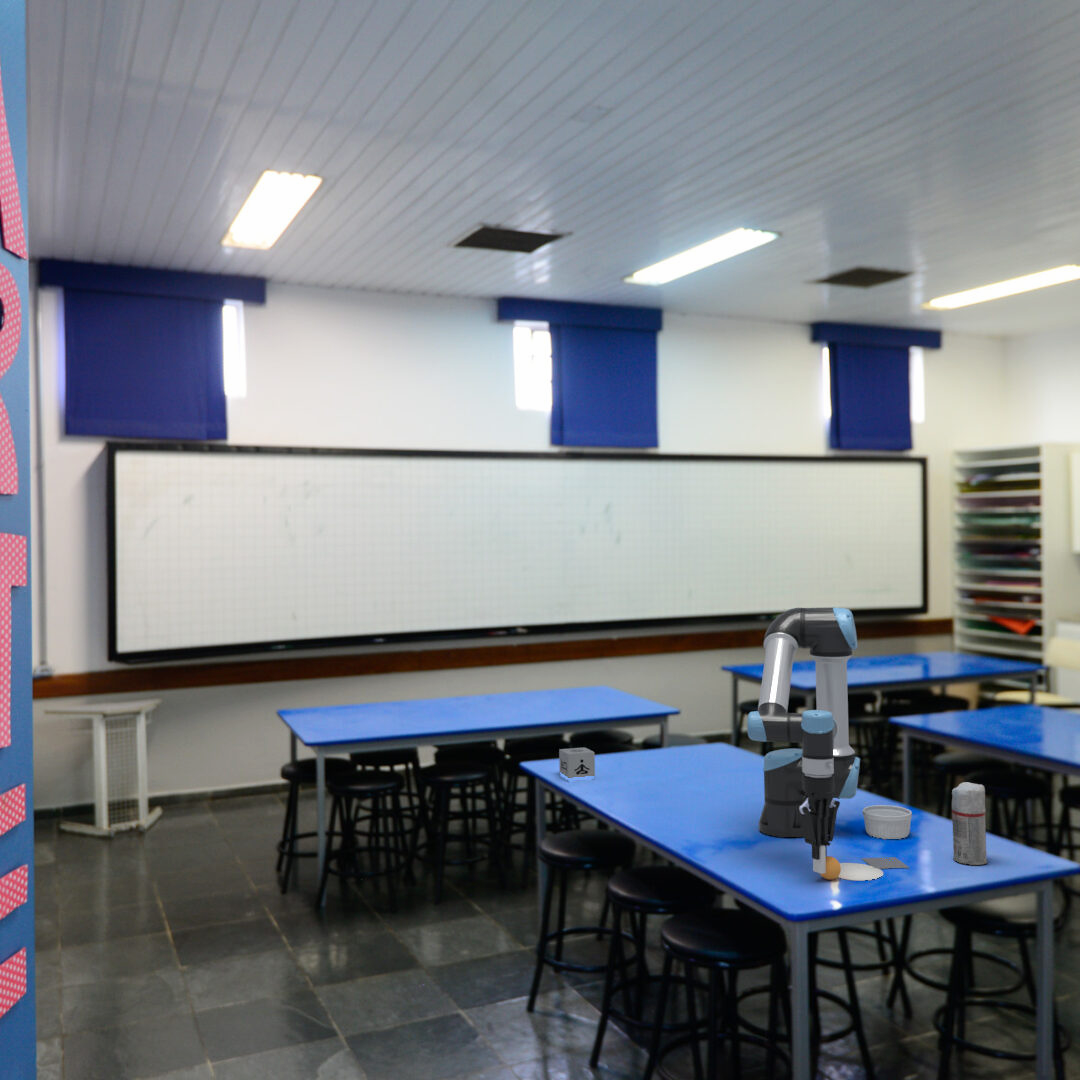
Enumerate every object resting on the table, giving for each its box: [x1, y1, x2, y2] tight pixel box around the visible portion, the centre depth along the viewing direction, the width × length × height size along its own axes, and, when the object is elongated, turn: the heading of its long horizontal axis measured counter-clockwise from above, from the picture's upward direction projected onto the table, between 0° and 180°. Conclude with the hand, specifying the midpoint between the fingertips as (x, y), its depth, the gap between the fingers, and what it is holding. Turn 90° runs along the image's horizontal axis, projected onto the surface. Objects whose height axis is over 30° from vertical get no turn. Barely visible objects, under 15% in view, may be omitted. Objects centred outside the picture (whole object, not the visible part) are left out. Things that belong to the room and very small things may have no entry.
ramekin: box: [862, 804, 913, 840], centre depth 288 cm, size 13×13×7 cm
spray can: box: [951, 781, 988, 866], centre depth 262 cm, size 8×8×20 cm
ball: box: [819, 855, 841, 881], centre depth 249 cm, size 6×6×6 cm
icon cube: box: [558, 746, 596, 778], centre depth 369 cm, size 10×10×10 cm
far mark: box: [861, 856, 910, 870], centre depth 261 cm, size 9×9×1 cm
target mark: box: [837, 862, 884, 882], centre depth 254 cm, size 14×14×1 cm
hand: (819, 871), depth 247 cm, fingers closed
